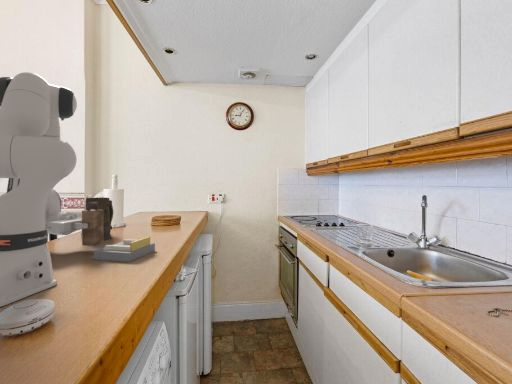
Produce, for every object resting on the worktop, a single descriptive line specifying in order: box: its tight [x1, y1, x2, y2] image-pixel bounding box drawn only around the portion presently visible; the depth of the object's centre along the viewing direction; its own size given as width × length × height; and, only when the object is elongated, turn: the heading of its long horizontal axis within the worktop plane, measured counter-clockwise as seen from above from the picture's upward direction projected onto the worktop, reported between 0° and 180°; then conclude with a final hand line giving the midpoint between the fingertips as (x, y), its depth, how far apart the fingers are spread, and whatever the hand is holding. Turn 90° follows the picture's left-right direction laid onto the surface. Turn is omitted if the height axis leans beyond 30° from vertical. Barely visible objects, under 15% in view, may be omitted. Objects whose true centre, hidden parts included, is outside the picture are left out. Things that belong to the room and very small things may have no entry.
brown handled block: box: [81, 202, 105, 247], centre depth 108 cm, size 5×5×16 cm
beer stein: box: [84, 197, 114, 241], centre depth 136 cm, size 15×11×20 cm
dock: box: [93, 236, 156, 263], centre depth 106 cm, size 14×16×6 cm
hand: (95, 224), depth 108 cm, fingers closed on brown handled block, 5 cm apart
